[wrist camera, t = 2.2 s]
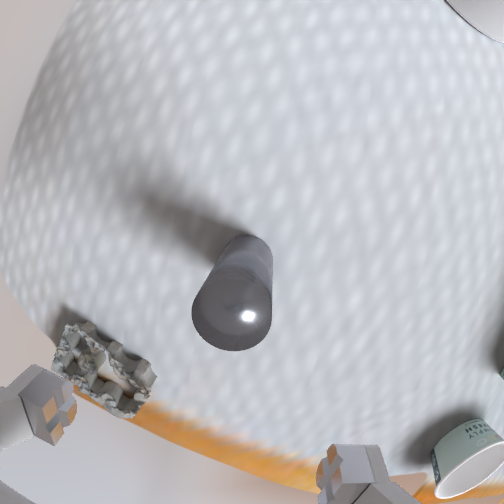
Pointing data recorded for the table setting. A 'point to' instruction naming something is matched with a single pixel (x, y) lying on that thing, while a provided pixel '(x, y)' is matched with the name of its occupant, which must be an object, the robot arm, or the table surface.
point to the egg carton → (91, 362)
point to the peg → (236, 296)
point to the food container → (466, 458)
